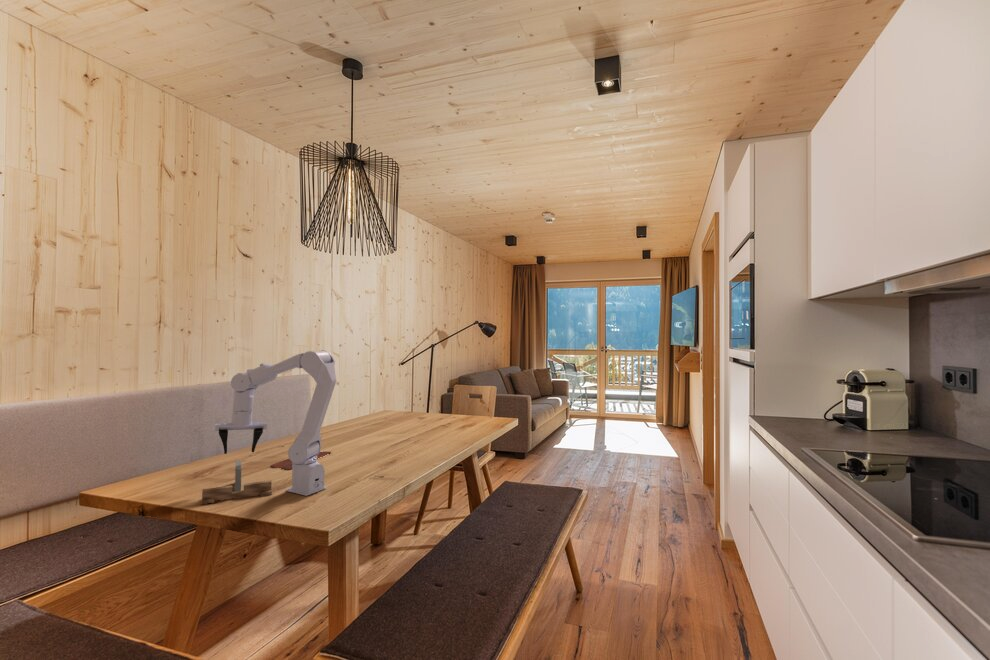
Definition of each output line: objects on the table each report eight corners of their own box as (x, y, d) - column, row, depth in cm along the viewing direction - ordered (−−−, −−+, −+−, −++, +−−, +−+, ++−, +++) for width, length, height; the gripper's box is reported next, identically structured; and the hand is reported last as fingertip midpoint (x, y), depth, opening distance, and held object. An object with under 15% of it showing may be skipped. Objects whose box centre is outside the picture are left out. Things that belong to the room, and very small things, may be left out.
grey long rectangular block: (240, 491, 141) (241, 468, 141) (234, 491, 140) (235, 469, 140) (240, 481, 150) (241, 460, 150) (235, 482, 149) (235, 461, 149)
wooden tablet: (290, 472, 163) (290, 467, 163) (267, 469, 166) (267, 465, 166) (336, 453, 188) (336, 449, 188) (316, 451, 191) (316, 447, 191)
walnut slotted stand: (270, 489, 142) (270, 478, 143) (271, 494, 138) (271, 483, 138) (202, 499, 134) (203, 487, 134) (201, 505, 129) (201, 492, 129)
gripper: (267, 407, 153) (263, 447, 153) (216, 408, 145) (213, 450, 145) (268, 411, 147) (265, 453, 147) (216, 412, 139) (212, 456, 139)
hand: (239, 452), depth 146 cm, fingers open, 7 cm apart
